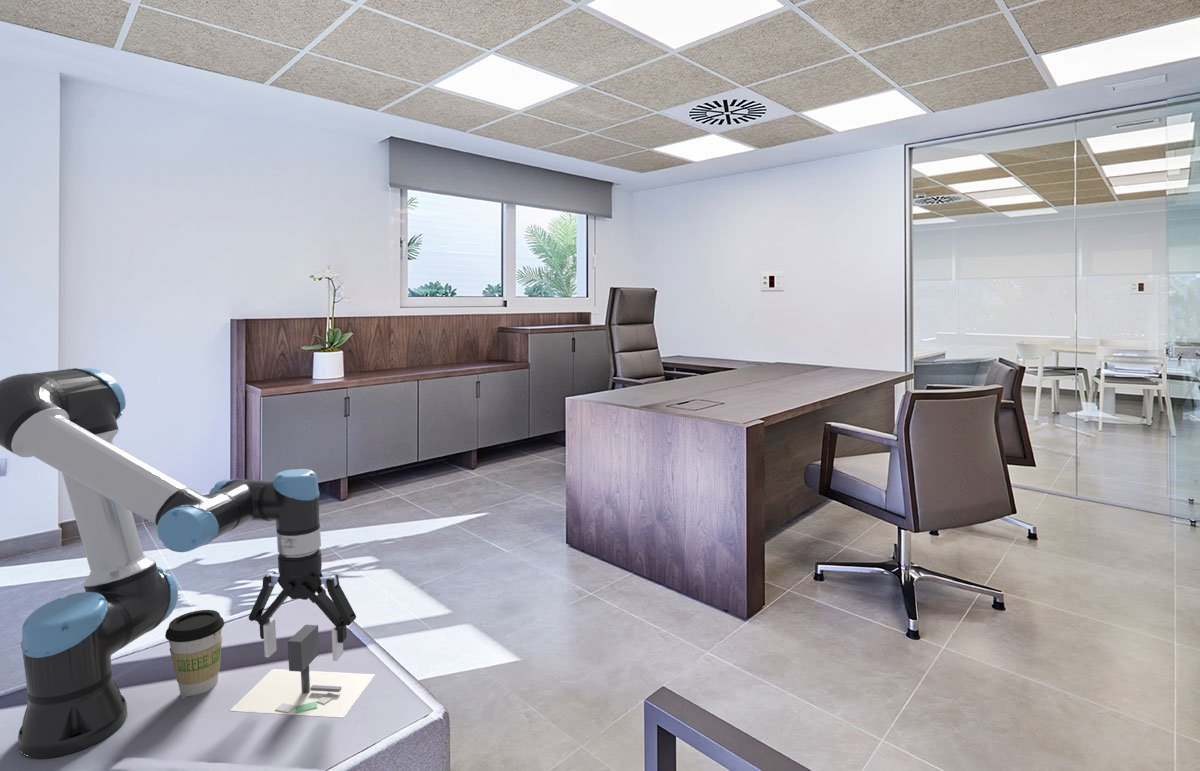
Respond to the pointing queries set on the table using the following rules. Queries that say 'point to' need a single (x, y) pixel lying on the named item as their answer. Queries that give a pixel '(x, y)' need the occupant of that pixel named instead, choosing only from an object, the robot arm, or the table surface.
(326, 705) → the flat cream board
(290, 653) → the dark grey angular piece
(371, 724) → the table surface
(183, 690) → the coffee cup
